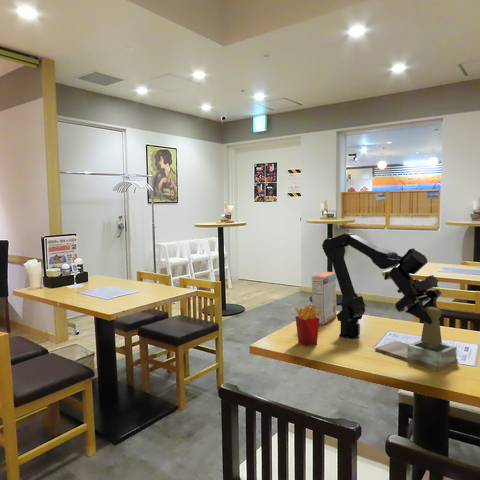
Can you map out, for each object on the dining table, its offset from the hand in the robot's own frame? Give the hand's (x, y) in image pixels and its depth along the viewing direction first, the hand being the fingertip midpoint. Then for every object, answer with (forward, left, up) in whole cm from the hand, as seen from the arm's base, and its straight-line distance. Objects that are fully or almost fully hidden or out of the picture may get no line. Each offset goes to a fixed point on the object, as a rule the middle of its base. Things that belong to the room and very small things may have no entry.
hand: (435, 322), depth 125 cm
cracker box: (-46, +30, -13) cm, 57 cm away
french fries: (-41, -1, -13) cm, 43 cm away
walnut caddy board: (-6, +3, -13) cm, 15 cm away
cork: (-1, +1, -7) cm, 7 cm away
